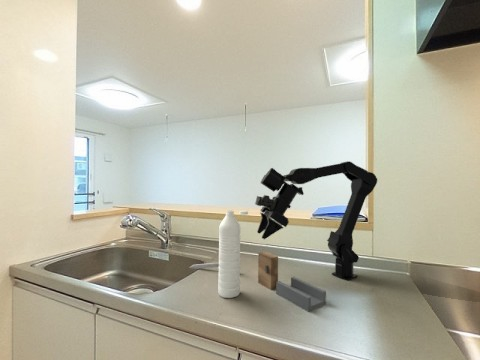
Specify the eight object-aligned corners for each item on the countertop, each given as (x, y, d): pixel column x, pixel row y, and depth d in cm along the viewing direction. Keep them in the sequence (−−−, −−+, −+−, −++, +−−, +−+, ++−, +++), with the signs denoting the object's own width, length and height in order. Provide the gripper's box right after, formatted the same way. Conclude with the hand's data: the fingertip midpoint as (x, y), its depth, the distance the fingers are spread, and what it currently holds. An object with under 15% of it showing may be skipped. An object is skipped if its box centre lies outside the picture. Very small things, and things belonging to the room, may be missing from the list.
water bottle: (215, 297, 68) (216, 211, 69) (221, 287, 74) (222, 209, 75) (245, 300, 67) (246, 212, 67) (248, 290, 73) (249, 209, 73)
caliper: (239, 273, 87) (239, 256, 87) (238, 275, 86) (239, 257, 86) (190, 267, 93) (190, 251, 93) (189, 268, 92) (189, 252, 92)
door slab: (265, 280, 80) (265, 251, 81) (277, 287, 75) (278, 256, 75) (256, 283, 78) (257, 253, 79) (269, 290, 73) (269, 258, 73)
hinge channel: (293, 287, 75) (293, 276, 75) (325, 303, 65) (325, 291, 65) (276, 293, 71) (276, 281, 71) (307, 311, 61) (308, 298, 61)
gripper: (260, 186, 93) (239, 219, 92) (271, 186, 74) (244, 228, 73) (283, 201, 94) (262, 234, 93) (300, 205, 75) (273, 247, 74)
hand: (260, 235), depth 83 cm, fingers open, 9 cm apart
